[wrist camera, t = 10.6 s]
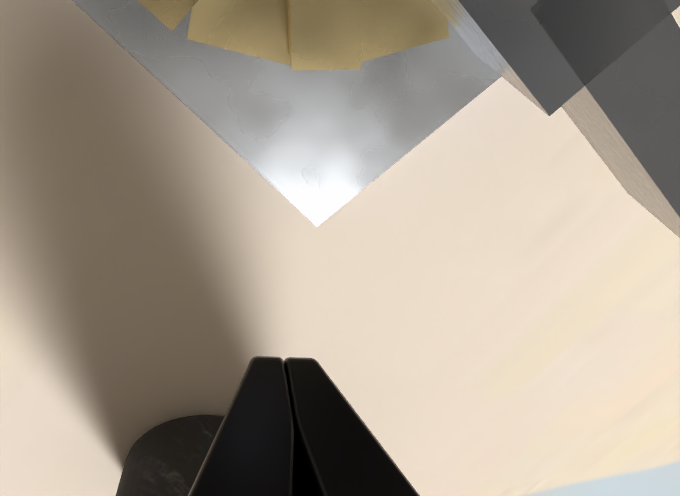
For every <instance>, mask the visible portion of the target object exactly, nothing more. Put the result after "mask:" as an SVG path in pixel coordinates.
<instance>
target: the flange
mask: <svg viewBox="0 0 680 496" xmlns="http://www.w3.org/2000/svg"><path fill="white" fill-rule="evenodd" d="M72 1H73V2H74V3H76V4H77V5H78V6H79V7H80V8H81V9H82V10H83V11H84V12H85V13H86V14H87V15H89V16H90V17H91V18H92V19H93V20H94V21H95V22H96V23H97V24H98V25H99V26H100V27H101V28H103V29H104V30H105V31H106V32H107V33H108V34H109V35H110V36H111V37H112V38H113V39H114V40H116V41H117V42H118V43H119V44H120V45H121V46H122V47H123V48H124V49H125V50H126V51H127V52H129V53H130V54H131V55H132V56H133V57H134V58H135V59H136V60H137V61H138V62H139V63H140V64H141V65H143V66H144V67H145V68H146V69H147V70H148V71H149V72H150V73H151V74H152V75H153V76H154V77H156V78H157V79H158V80H159V81H160V82H161V83H162V84H163V85H164V86H165V87H166V88H167V89H169V90H170V91H171V92H172V93H173V94H174V95H175V96H176V97H177V98H178V99H179V100H180V101H182V102H183V103H184V104H185V105H186V106H187V107H188V108H189V109H190V110H191V111H192V112H193V113H194V114H196V115H197V116H198V117H199V118H200V119H201V120H202V121H203V122H204V123H205V124H206V125H207V126H209V127H210V128H211V129H212V130H213V131H214V132H215V133H216V134H217V135H218V136H219V137H220V138H222V139H223V140H224V141H225V142H226V143H227V144H228V145H229V146H230V147H231V148H232V149H233V150H234V151H236V152H237V153H238V154H239V155H240V156H241V157H242V158H243V159H244V160H245V161H246V162H247V163H249V164H250V165H251V166H252V167H253V168H254V169H255V170H256V171H257V172H258V173H259V174H260V175H262V176H263V177H264V178H265V179H266V180H267V181H268V182H269V183H270V184H271V185H272V186H273V187H274V188H276V189H277V190H278V191H279V192H280V193H281V194H282V195H283V196H284V197H285V198H286V199H287V200H289V201H290V202H291V203H292V204H293V205H294V206H295V207H296V208H297V209H298V210H299V211H300V212H302V213H303V214H304V215H305V216H306V217H307V218H308V219H309V220H310V221H311V222H312V223H313V224H315V225H316V226H319V225H320V224H321V223H322V222H324V221H325V220H326V219H327V218H328V217H330V216H331V215H332V214H333V213H335V212H336V211H337V210H338V209H339V208H341V207H342V206H343V205H344V204H346V203H347V202H348V201H349V200H350V199H352V198H353V197H354V196H355V195H357V194H358V193H359V192H360V191H361V190H363V189H364V188H365V187H366V186H368V185H369V184H370V183H371V182H373V181H374V180H375V179H376V178H377V177H379V176H380V175H381V174H382V173H384V172H385V171H386V170H387V169H388V168H390V167H391V166H392V165H393V164H395V163H396V162H397V161H398V160H399V159H401V158H402V157H403V156H404V155H406V154H407V153H408V152H409V151H410V150H412V149H413V148H414V147H415V146H417V145H418V144H419V143H420V142H421V141H423V140H424V139H425V138H426V137H428V136H429V135H430V134H431V133H433V132H434V131H435V130H436V129H437V128H439V127H440V126H441V125H442V124H444V123H445V122H446V121H447V120H448V119H450V118H451V117H452V116H453V115H455V114H456V113H457V112H458V111H459V110H461V109H462V108H463V107H464V106H466V105H467V104H468V103H469V102H470V101H472V100H473V99H474V98H475V97H477V96H478V95H479V94H480V93H482V92H483V91H484V90H485V89H486V88H488V87H489V86H490V85H491V84H493V83H494V82H495V81H496V80H497V79H499V78H500V77H501V75H499V74H498V73H497V72H496V71H495V70H493V69H492V68H491V67H490V66H489V65H487V64H486V63H485V62H484V61H483V60H481V59H480V58H479V57H478V56H477V55H475V54H474V52H473V51H472V50H471V49H470V48H469V46H468V45H467V44H466V43H465V41H464V40H463V39H462V38H461V37H460V35H459V34H458V33H457V32H456V30H455V29H454V28H453V27H452V25H451V24H450V23H449V22H448V21H447V23H448V30H449V37H448V38H445V39H441V40H438V41H434V42H431V43H427V44H424V45H420V46H417V47H413V48H410V49H406V50H403V51H399V52H396V53H392V54H389V55H385V56H381V57H378V58H374V59H371V60H367V61H364V62H362V63H361V69H358V70H332V71H329V70H314V71H310V70H291V66H290V65H286V64H282V63H278V62H274V61H270V60H266V59H263V58H259V57H255V56H251V55H247V54H243V53H239V52H235V51H231V50H227V49H223V48H219V47H216V46H212V45H208V44H204V43H200V42H196V41H192V40H188V39H187V36H188V30H189V23H190V16H191V10H192V8H191V10H190V11H189V12H188V13H187V14H186V15H185V17H184V18H183V19H182V20H181V21H180V22H179V24H178V25H177V26H176V27H175V28H174V29H173V31H171V30H170V29H169V28H168V27H167V26H166V25H165V24H164V23H162V22H161V21H160V20H159V19H158V18H157V17H156V16H155V15H153V14H152V13H151V12H150V11H149V10H148V9H147V8H146V7H144V6H143V5H142V4H141V3H140V2H139V1H138V0H72Z"/></svg>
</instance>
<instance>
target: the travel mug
mask: <svg viewBox="0 0 680 496" xmlns="http://www.w3.org/2000/svg"><path fill="white" fill-rule="evenodd" d="M223 419H224V417H220V416H193V417H186V418H180V419H176V420H173V421H169V422H167V423H164V424H162V425H159V426H157V427H156V428H154V429H152V430H150V431H149V432H147V433H146V434H144V435H143V436H142V437H141V438H140V439H139V440H138V441H137V442H136V443H135V444H134V446H133V447H132V449H131V450H130V452H129V454H128V456H127V459H126V462H125V465H124V468H123V471H122V475H121V479H120V482H119V486H118V490H117V493H116V496H188V494H189V492H190V490H191V488H192V486H193V484H194V481H195V479H196V477H197V475H198V473H199V471H200V469H201V466H202V464H203V462H204V460H205V458H206V456H207V453H208V451H209V449H210V447H211V445H212V443H213V441H214V438H215V436H216V434H217V432H218V430H219V428H220V425H221V423H222V421H223Z"/></svg>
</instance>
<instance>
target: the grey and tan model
mask: <svg viewBox="0 0 680 496" xmlns="http://www.w3.org/2000/svg"><path fill="white" fill-rule="evenodd" d="M138 1H139V2H140V3H141V4H142V5H143V6H144V7H146V8H147V9H148V10H149V11H150V12H151V13H152V14H153V15H155V16H156V17H157V18H158V19H159V20H160V21H161V22H162V23H164V24H165V25H166V26H167V27H168V28H169V29H170V30H171V31H173V29H174V28H175V27H176V26H177V25H178V24H179V22H180V21H181V20H182V19H183V18H184V17H185V15H186V14H187V13H188V12H189V11H190V10H191V8H192V10H191V16H190V23H189V30H188V36H187V39H188V40H192V41H196V42H200V43H204V44H208V45H212V46H216V47H219V48H223V49H227V50H231V51H235V52H239V53H243V54H247V55H251V56H255V57H259V58H263V59H266V60H270V61H274V62H278V63H282V64H286V65H290V66H291V70H310V71H314V70H329V71H332V70H358V69H361V63H362V62H364V61H367V60H371V59H374V58H378V57H381V56H385V55H389V54H392V53H396V52H399V51H403V50H406V49H410V48H413V47H417V46H420V45H424V44H427V43H431V42H434V41H438V40H441V39H445V38H448V37H449V30H448V23H447V21H448V22H449V23H450V24H451V25H452V27H453V28H454V29H455V30H456V32H457V33H458V34H459V35H460V37H461V38H462V39H463V40H464V41H465V43H466V44H467V45H468V46H469V48H470V49H471V50H472V51H473V52H474V54H475V55H477V56H478V57H479V58H480V59H481V60H483V61H484V62H485V63H486V64H487V65H489V66H490V67H491V68H492V69H493V70H495V71H496V72H497V73H498V74H499V75H501V76H502V77H503V78H504V79H505V80H507V81H508V82H509V83H510V84H511V85H513V86H514V87H515V88H516V89H517V90H519V91H520V92H521V93H522V94H523V95H525V96H526V97H527V98H528V99H529V100H531V101H532V102H533V103H534V104H535V105H537V106H538V107H539V108H540V109H541V110H543V111H544V112H545V113H546V114H547V115H549V116H550V115H551V114H552V113H554V112H555V111H556V110H557V109H558V108H560V107H561V106H562V108H563V109H564V110H565V112H566V113H567V114H568V116H569V117H570V118H571V119H572V121H573V122H574V123H575V125H576V126H577V127H578V129H579V130H580V131H581V133H582V134H583V135H584V136H585V138H586V139H587V140H588V142H589V143H590V144H591V146H592V147H593V148H594V150H595V151H596V152H597V153H598V155H599V156H600V157H601V159H602V160H603V161H604V163H605V164H606V165H607V167H608V168H609V169H610V170H611V172H612V173H613V174H614V176H615V177H616V178H617V180H618V181H619V182H620V184H621V185H622V186H623V187H624V189H625V190H626V191H627V193H628V194H629V195H631V196H632V197H633V198H634V199H635V200H636V201H638V202H639V203H640V204H641V205H642V206H643V207H645V208H646V209H647V210H648V211H649V212H650V213H651V214H653V215H654V216H655V217H656V218H657V219H658V220H660V221H661V222H662V223H663V224H664V225H665V226H666V227H668V228H669V229H670V230H671V231H672V232H673V233H675V234H676V235H677V236H678V237H679V238H680V28H679V26H678V25H677V23H676V21H675V19H674V18H673V16H672V14H671V13H672V12H673V11H674V10H675V9H676V8H678V7H679V6H680V0H138Z"/></svg>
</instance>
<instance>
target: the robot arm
mask: <svg viewBox="0 0 680 496" xmlns="http://www.w3.org/2000/svg"><path fill="white" fill-rule="evenodd" d="M188 496H419V494H418V493H417V492H416V490H415V489H414V488H413V486H412V485H411V484H410V482H409V481H408V480H407V478H406V477H405V476H404V475H403V473H402V472H401V471H400V469H399V468H398V467H397V465H396V464H395V463H394V461H393V460H392V459H391V457H390V456H389V455H388V454H387V452H386V451H385V450H384V448H383V447H382V446H381V444H380V443H379V442H378V440H377V439H376V438H375V436H374V435H373V434H372V433H371V431H370V430H369V429H368V427H367V426H366V425H365V423H364V422H363V421H362V419H361V418H360V417H359V415H358V414H357V413H356V412H355V410H354V409H353V408H352V406H351V405H350V404H349V402H348V401H347V400H346V398H345V397H344V396H343V394H342V393H341V392H340V391H339V389H338V388H337V387H336V385H335V384H334V383H333V381H332V380H331V379H330V377H329V376H328V375H327V373H326V372H325V371H324V370H323V368H322V367H321V366H320V364H319V363H318V362H317V361H316V360H315V359H313V358H295V357H289V358H287V359H285V360H284V361H283V359H282V358H280V357H266V356H255V357H253V358H252V359H251V361H250V363H249V365H248V367H247V369H246V372H245V374H244V376H243V378H242V380H241V382H240V384H239V387H238V389H237V391H236V393H235V395H234V397H233V400H232V402H231V404H230V406H229V408H228V410H227V412H226V415H225V417H224V419H223V421H222V423H221V425H220V428H219V430H218V432H217V434H216V436H215V438H214V441H213V443H212V445H211V447H210V449H209V451H208V453H207V456H206V458H205V460H204V462H203V464H202V466H201V469H200V471H199V473H198V475H197V477H196V479H195V481H194V484H193V486H192V488H191V490H190V492H189V494H188Z"/></svg>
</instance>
